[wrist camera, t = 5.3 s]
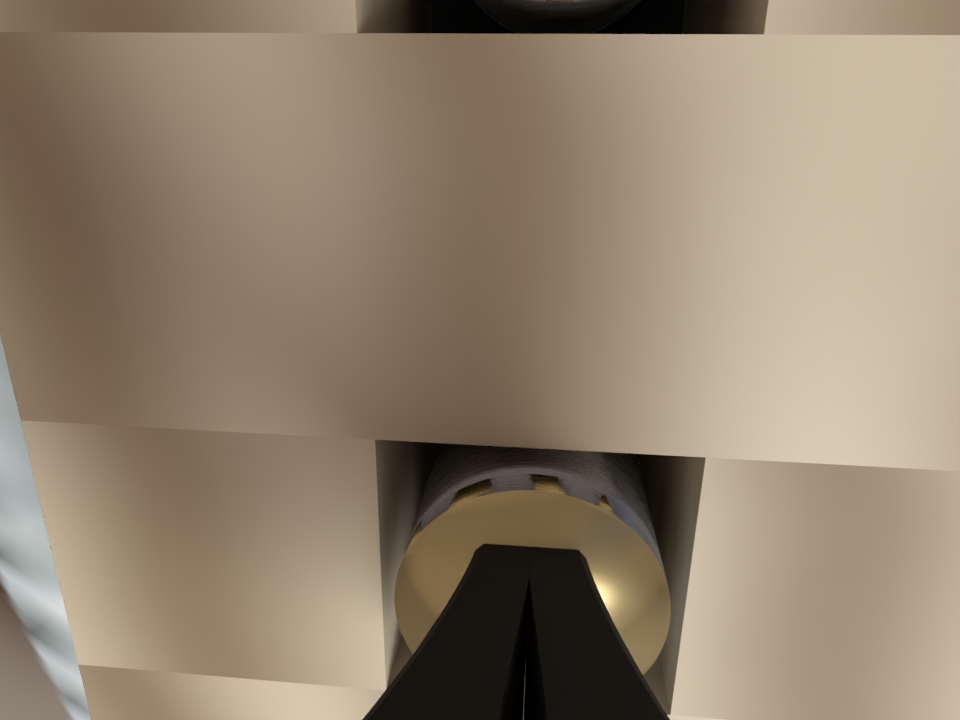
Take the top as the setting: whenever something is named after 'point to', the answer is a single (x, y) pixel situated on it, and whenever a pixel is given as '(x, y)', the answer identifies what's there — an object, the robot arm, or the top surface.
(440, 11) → the top surface
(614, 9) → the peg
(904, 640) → the twin-bore block
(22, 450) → the top surface
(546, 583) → the robot arm
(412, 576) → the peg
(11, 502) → the top surface
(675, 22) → the top surface
